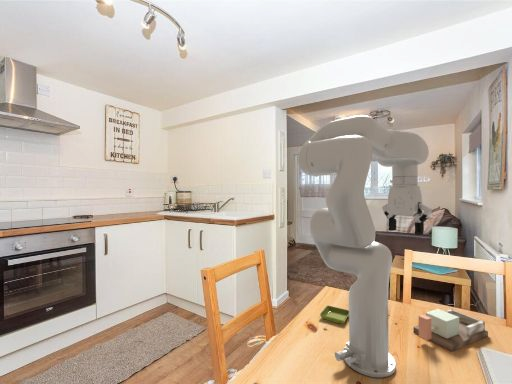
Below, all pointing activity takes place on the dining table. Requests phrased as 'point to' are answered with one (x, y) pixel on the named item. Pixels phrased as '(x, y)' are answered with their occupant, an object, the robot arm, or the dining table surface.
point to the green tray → (335, 314)
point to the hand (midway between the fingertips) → (405, 232)
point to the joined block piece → (438, 324)
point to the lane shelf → (460, 332)
